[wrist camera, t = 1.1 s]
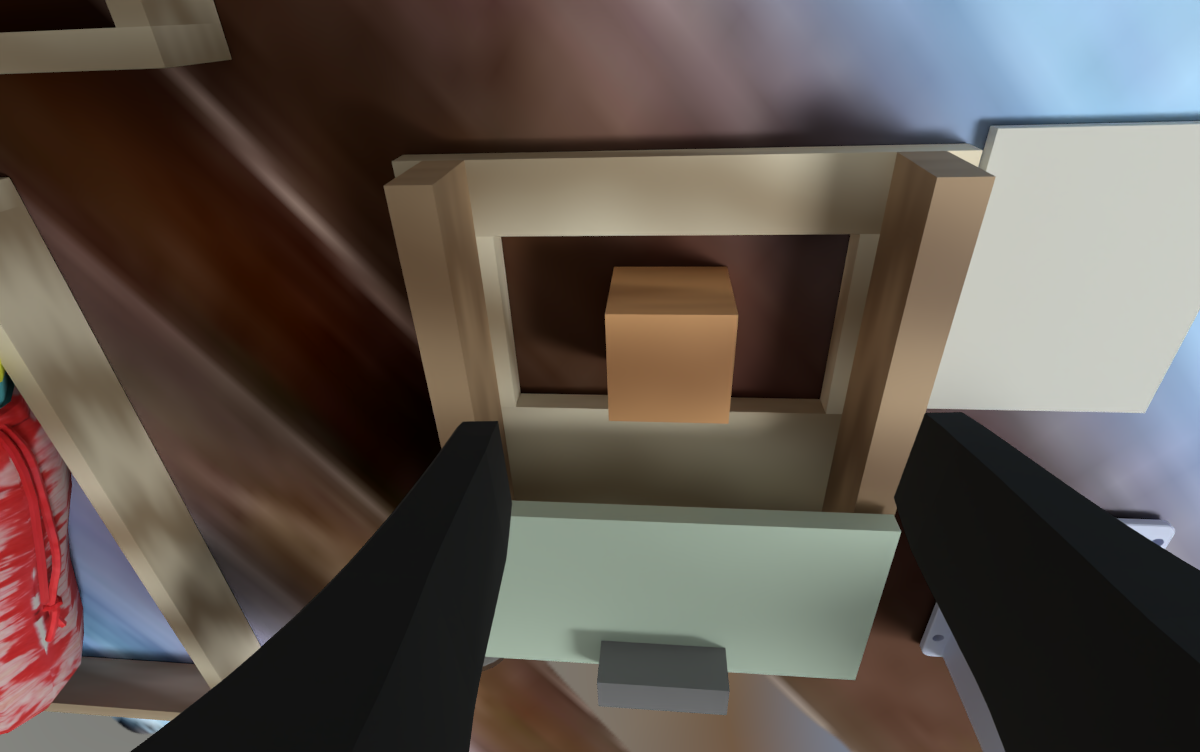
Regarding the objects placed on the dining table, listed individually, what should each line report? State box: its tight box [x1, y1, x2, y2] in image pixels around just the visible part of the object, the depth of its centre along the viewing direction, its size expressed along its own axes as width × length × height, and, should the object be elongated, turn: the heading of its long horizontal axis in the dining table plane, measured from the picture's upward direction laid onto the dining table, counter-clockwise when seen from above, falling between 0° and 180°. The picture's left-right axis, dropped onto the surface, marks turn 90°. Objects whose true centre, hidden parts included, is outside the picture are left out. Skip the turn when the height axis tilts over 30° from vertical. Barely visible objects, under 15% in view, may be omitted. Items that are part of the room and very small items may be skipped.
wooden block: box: [605, 267, 738, 424], centre depth 21 cm, size 4×4×4 cm
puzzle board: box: [384, 144, 996, 516], centre depth 23 cm, size 20×18×4 cm
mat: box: [927, 121, 1200, 413], centre depth 20 cm, size 10×8×1 cm
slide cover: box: [485, 500, 901, 715], centre depth 23 cm, size 8×16×3 cm, turn 92°
